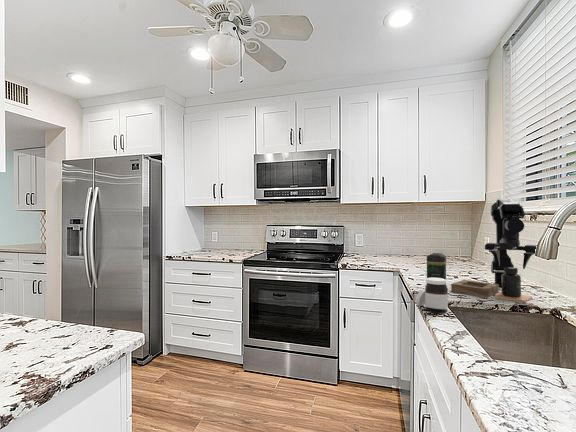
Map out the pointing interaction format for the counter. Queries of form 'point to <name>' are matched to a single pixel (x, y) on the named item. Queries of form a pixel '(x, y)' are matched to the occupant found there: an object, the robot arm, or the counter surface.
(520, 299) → the terracotta coaster
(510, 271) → the supplement bottle
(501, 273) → the robot arm
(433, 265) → the coffee jar
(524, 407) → the counter surface
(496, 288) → the walnut caddy
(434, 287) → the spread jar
